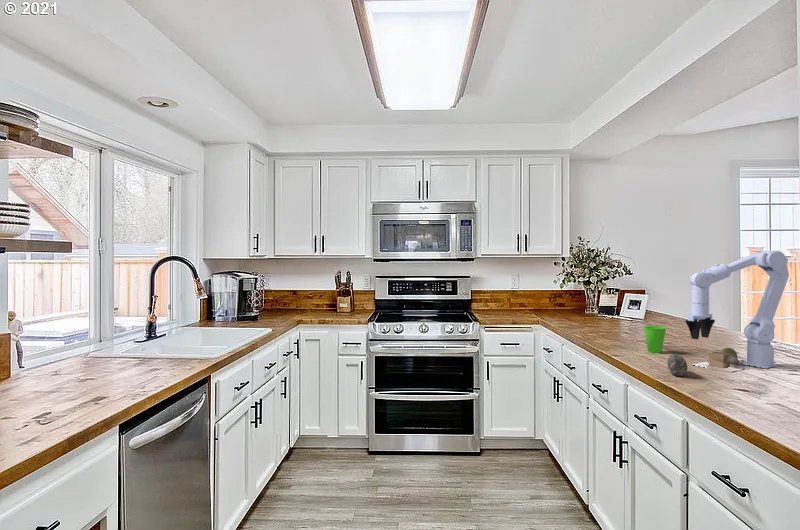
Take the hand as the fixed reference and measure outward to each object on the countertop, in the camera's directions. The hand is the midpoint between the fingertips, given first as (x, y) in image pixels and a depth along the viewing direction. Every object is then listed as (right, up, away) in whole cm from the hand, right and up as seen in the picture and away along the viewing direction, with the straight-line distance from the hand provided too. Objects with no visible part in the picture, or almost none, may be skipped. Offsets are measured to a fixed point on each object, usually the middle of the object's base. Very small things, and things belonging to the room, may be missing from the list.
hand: (700, 338), depth 189 cm
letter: (+3, -10, -6) cm, 12 cm away
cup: (-6, -10, +23) cm, 25 cm away
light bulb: (+12, -9, -4) cm, 15 cm away
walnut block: (+4, -10, -6) cm, 12 cm away
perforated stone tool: (-18, -11, -16) cm, 26 cm away
